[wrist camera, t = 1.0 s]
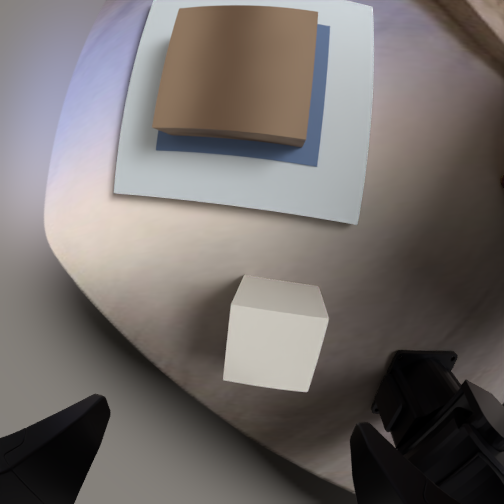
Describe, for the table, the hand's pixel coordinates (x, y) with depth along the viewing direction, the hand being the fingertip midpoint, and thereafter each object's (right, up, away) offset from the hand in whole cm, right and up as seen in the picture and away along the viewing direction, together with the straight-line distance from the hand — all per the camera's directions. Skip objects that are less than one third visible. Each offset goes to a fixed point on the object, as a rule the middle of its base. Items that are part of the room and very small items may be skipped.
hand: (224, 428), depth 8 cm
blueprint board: (0, +17, +8) cm, 18 cm away
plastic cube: (+3, +2, +11) cm, 12 cm away
